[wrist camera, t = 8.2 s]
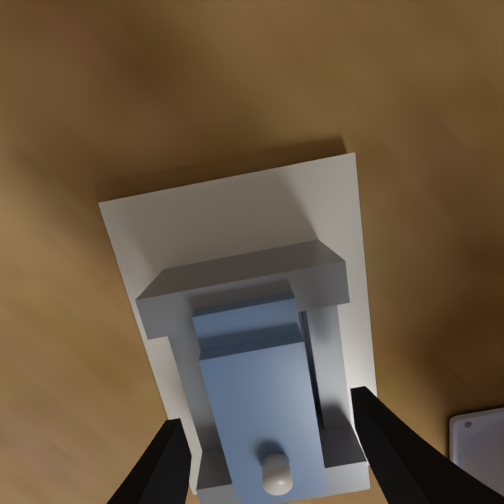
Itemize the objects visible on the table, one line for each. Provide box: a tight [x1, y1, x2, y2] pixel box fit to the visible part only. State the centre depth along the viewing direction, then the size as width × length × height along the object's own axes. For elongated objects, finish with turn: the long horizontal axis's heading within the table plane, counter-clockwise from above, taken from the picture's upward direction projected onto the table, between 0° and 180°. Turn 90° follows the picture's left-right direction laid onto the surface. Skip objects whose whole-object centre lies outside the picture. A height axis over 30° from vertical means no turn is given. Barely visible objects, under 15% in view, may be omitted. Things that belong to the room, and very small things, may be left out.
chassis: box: [98, 152, 377, 504], centre depth 15 cm, size 13×20×5 cm, turn 11°
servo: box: [192, 292, 327, 504], centre depth 13 cm, size 4×10×6 cm, turn 11°
